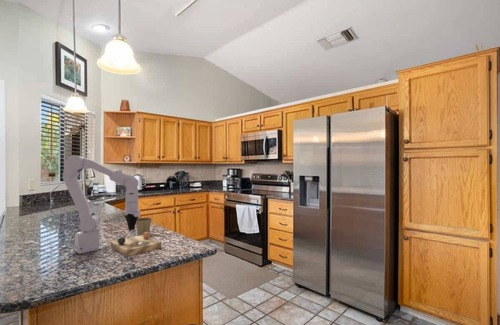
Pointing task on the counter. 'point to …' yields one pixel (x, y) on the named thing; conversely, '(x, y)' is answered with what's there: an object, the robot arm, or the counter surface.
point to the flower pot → (143, 225)
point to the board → (135, 245)
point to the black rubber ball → (121, 240)
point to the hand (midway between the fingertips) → (131, 229)
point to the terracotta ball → (146, 235)
